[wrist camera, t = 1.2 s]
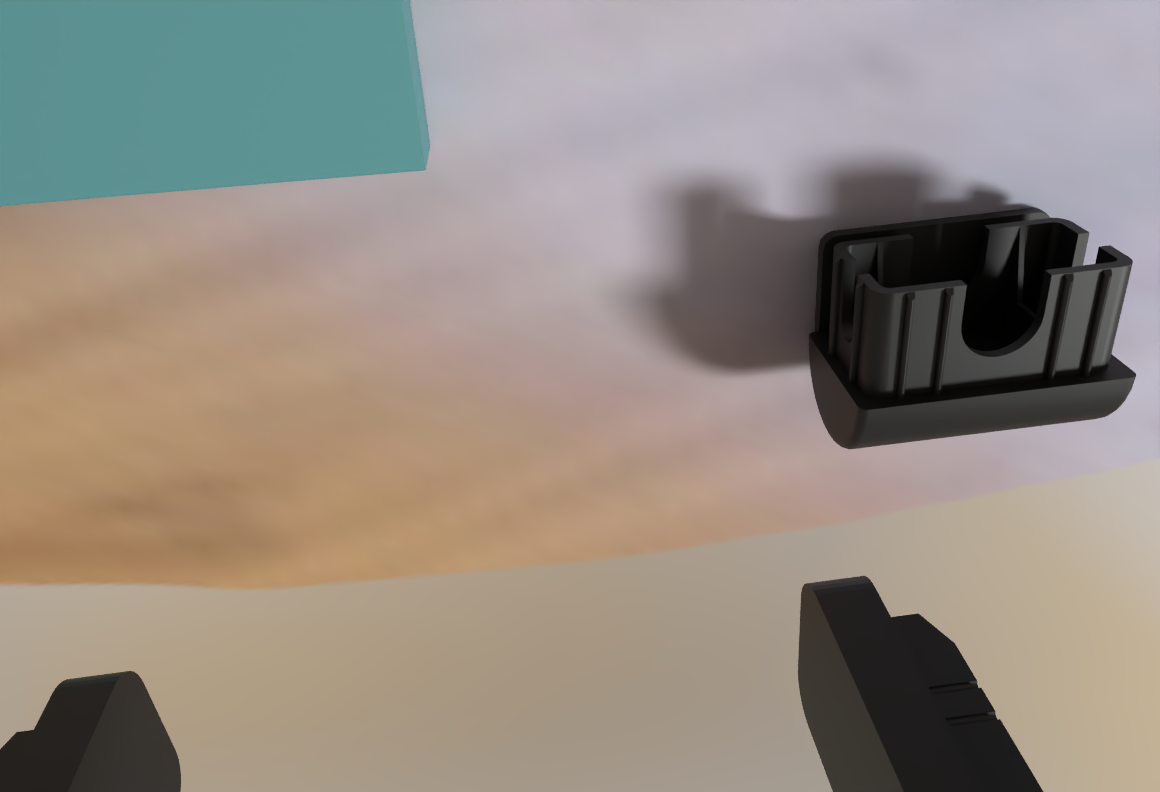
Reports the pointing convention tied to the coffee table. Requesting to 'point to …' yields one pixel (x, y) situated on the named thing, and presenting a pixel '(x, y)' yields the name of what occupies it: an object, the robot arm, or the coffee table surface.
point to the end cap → (965, 328)
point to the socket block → (203, 95)
